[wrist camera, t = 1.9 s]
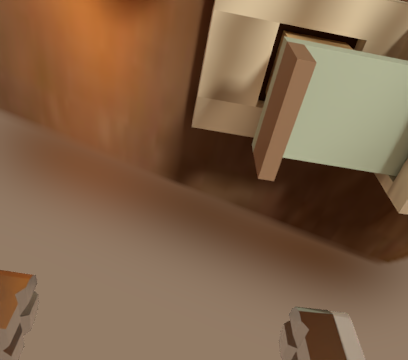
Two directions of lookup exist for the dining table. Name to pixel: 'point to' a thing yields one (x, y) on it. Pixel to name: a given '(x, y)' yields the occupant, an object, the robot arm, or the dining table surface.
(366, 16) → the beige stepped box
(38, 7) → the dining table surface
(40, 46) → the dining table surface
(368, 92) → the cover
